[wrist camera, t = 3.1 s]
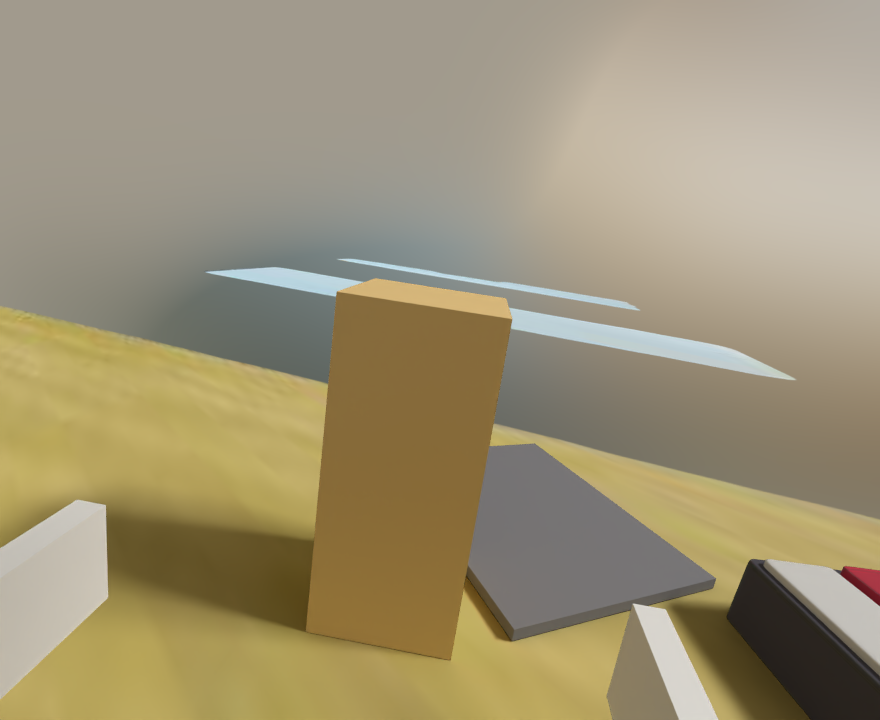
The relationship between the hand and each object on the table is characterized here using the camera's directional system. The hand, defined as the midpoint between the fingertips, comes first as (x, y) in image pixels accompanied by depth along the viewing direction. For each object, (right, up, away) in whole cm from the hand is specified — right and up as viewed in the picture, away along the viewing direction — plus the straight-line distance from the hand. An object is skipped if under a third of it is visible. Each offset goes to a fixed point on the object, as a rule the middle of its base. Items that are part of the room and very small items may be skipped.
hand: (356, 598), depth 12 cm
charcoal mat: (+7, -4, +19) cm, 21 cm away
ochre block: (0, -5, +11) cm, 12 cm away
